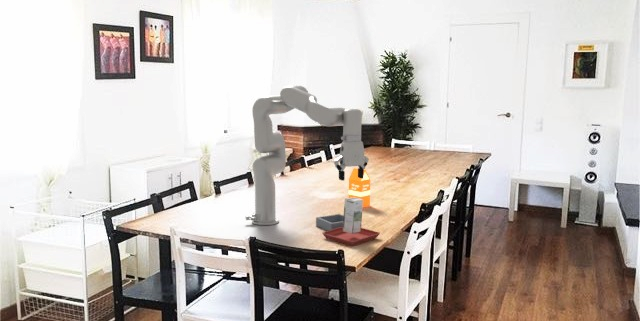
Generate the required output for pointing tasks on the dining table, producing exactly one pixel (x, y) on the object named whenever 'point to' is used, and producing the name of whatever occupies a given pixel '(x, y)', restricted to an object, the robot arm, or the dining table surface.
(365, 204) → the orange juice
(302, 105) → the robot arm
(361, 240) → the plant saucer
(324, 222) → the bin
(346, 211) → the syrup box
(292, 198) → the dining table surface
